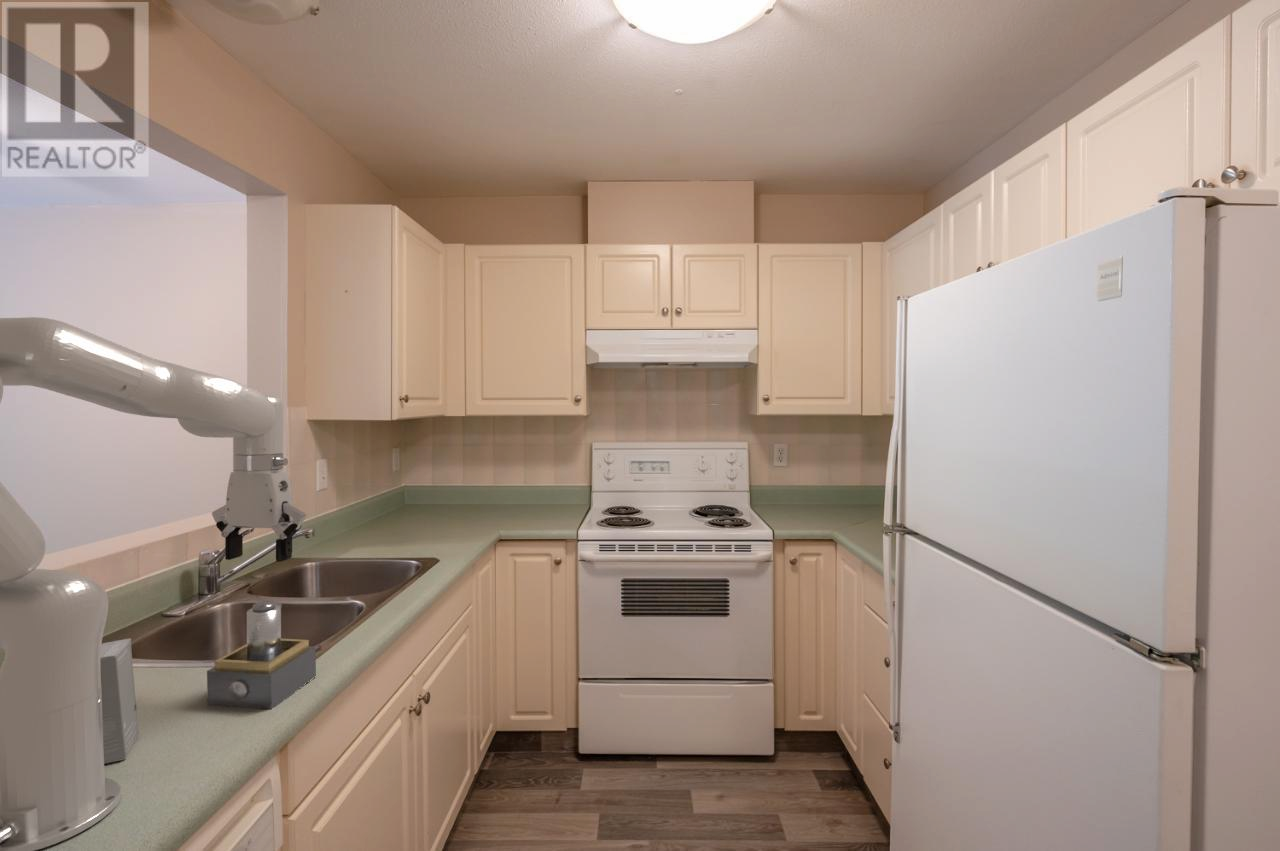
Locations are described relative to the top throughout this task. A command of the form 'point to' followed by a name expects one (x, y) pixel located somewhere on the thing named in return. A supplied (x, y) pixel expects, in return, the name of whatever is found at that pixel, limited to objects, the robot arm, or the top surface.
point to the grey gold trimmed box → (261, 676)
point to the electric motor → (264, 631)
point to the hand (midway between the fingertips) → (258, 558)
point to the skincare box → (118, 700)
